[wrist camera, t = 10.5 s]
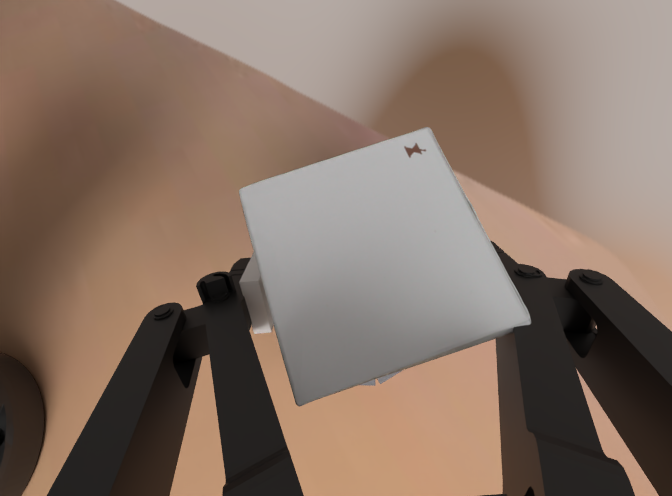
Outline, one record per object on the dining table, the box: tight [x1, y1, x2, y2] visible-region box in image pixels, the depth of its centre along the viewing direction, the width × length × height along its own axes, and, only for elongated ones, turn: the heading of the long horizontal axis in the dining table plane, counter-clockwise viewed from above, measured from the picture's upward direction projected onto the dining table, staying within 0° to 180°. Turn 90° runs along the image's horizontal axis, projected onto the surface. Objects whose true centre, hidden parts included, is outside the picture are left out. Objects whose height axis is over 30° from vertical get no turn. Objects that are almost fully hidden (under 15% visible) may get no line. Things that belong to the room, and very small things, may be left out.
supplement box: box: [239, 127, 531, 406], centre depth 15 cm, size 7×7×13 cm
